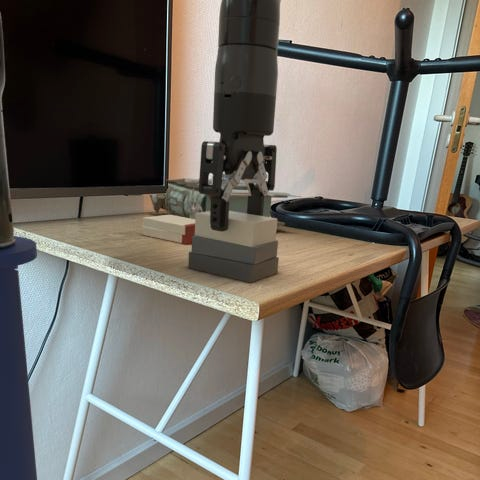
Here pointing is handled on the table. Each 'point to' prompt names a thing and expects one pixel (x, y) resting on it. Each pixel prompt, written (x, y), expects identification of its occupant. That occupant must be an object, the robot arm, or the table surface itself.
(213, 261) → the grey stack
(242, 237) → the white book
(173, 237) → the white stack
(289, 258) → the table surface
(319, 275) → the table surface
